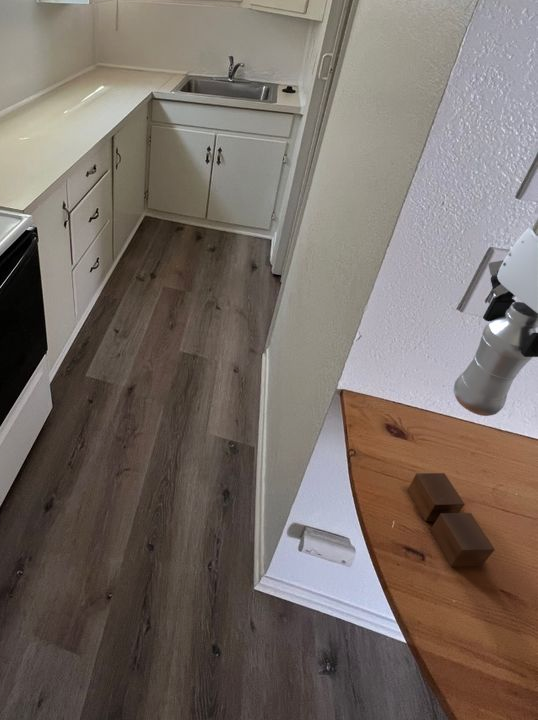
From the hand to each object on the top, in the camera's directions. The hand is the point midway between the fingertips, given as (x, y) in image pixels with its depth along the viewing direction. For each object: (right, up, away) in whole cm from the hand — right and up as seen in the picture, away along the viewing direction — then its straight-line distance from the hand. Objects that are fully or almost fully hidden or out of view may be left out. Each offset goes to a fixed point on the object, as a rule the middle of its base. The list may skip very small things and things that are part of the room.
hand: (512, 336), depth 63 cm
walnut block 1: (-7, -30, +8) cm, 32 cm away
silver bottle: (0, -13, +7) cm, 15 cm away
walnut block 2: (-7, -33, +2) cm, 34 cm away
